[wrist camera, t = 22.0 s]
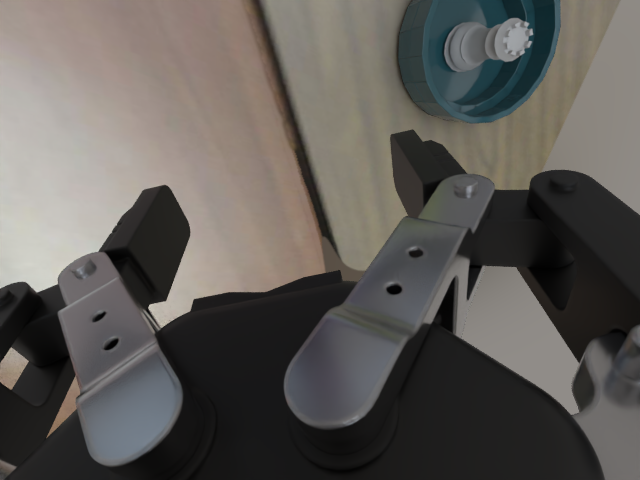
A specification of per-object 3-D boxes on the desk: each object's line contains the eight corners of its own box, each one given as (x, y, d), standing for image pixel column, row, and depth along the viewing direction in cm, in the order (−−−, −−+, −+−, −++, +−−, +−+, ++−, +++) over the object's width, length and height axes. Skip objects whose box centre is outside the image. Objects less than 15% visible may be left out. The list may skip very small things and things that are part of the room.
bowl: (379, -9, 33) (407, -25, 28) (510, -58, 34) (559, -82, 29) (410, 137, 39) (437, 145, 35) (520, 91, 41) (561, 92, 36)
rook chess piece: (488, 39, 37) (552, 28, 29) (463, 80, 38) (520, 79, 31) (458, 12, 35) (519, -6, 28) (433, 56, 36) (486, 49, 29)
